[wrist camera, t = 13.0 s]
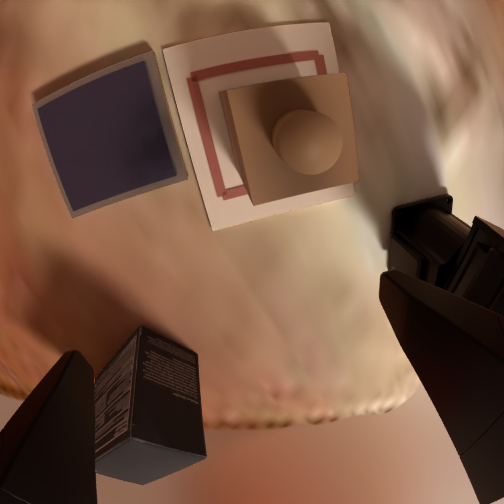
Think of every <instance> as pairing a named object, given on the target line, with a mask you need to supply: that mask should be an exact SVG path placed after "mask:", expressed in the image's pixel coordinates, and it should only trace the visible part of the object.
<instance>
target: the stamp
mask: <svg viewBox="0 0 504 504" xmlns="http://www.w3.org/2000/svg"><path fill="white" fill-rule="evenodd" d="M218 93H219V97H220V101H221V105H222V109H223V113H224V118H225V122H226V126H227V130H228V134H229V139H230V143H231V147H232V151H233V155H234V160H235V164H236V168H237V171H238V174H239V176H240V178H241V180H242V182H243V185H244V187H245V189H246V191H247V193H248V196H249V198H250V200H251V202H252V204H253V206H256V205H260V204H264V203H268V202H272V201H276V200H280V199H284V198H288V197H292V196H297V195H301V194H305V193H309V192H314V191H318V190H322V189H327V188H331V187H336V186H340V185H345V184H349V183H354V182H359V174H358V162H357V151H356V141H355V132H354V123H353V115H352V108H351V101H350V94H349V88H348V81H347V76H346V73H337V74H323V75H312V76H303V77H295V78H288V79H281V80H275V81H269V82H263V83H257V84H252V85H247V86H242V87H237V88H233V89H228V90H224V91H219V92H218Z"/></svg>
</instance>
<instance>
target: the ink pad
mask: <svg viewBox="0 0 504 504" xmlns="http://www.w3.org/2000/svg"><path fill="white" fill-rule="evenodd" d="M32 106H33V110H34V113H35V117H36V120H37V124H38V127H39V130H40V134H41V137H42V140H43V143H44V146H45V149H46V152H47V155H48V158H49V161H50V164H51V167H52V169H53V172H54V175H55V177H56V180H57V183H58V185H59V188H60V190H61V193H62V195H63V198H64V200H65V203H66V205H67V207H68V210H69V212H70V214H71V217H72V218H75V217H77V216H80V215H82V214H85V213H88V212H90V211H93V210H96V209H99V208H101V207H104V206H107V205H110V204H113V203H116V202H118V201H121V200H124V199H127V198H130V197H133V196H136V195H139V194H142V193H145V192H148V191H152V190H155V189H158V188H161V187H164V186H168V185H171V184H174V183H178V182H181V181H184V180H188V173H187V170H186V166H185V163H184V159H183V156H182V152H181V149H180V146H179V142H178V138H177V135H176V131H175V128H174V124H173V121H172V117H171V113H170V110H169V106H168V102H167V98H166V95H165V91H164V87H163V83H162V79H161V76H160V72H159V68H158V64H157V60H156V56H155V52H153V51H149V52H146V53H143V54H140V55H137V56H134V57H132V58H129V59H126V60H124V61H121V62H118V63H116V64H113V65H111V66H108V67H106V68H104V69H101V70H99V71H97V72H94V73H92V74H90V75H88V76H85V77H83V78H81V79H79V80H77V81H75V82H73V83H71V84H69V85H67V86H65V87H63V88H61V89H59V90H57V91H55V92H53V93H52V94H50V95H48V96H46V97H44V98H43V99H41V100H39V101H37V102H36V103H34V104H32Z"/></svg>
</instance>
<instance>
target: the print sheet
mask: <svg viewBox="0 0 504 504" xmlns="http://www.w3.org/2000/svg"><path fill="white" fill-rule="evenodd" d="M162 50H163V54H164V58H165V62H166V66H167V70H168V73H169V77H170V81H171V85H172V89H173V93H174V97H175V100H176V104H177V108H178V112H179V115H180V119H181V123H182V126H183V130H184V134H185V137H186V141H187V145H188V148H189V152H190V155H191V159H192V162H193V166H194V169H195V173H196V176H197V180H198V183H199V187H200V190H201V194H202V197H203V200H204V204H205V207H206V210H207V214H208V217H209V220H210V224H211V227H212V230H213V231H216V230H219V229H223V228H227V227H231V226H234V225H238V224H242V223H246V222H250V221H253V220H257V219H261V218H265V217H269V216H273V215H277V214H281V213H285V212H289V211H293V210H297V209H301V208H305V207H309V206H313V205H317V204H321V203H325V202H329V201H334V200H338V199H342V198H346V197H351V196H354V183H349V184H345V185H340V186H336V187H331V188H327V189H322V190H318V191H314V192H309V193H305V194H301V195H297V196H292V197H288V198H284V199H280V200H276V201H272V202H268V203H264V204H260V205H256V206H253V204H252V202H251V200H250V198H249V196H248V193H247V191H246V189H245V187H244V185H243V182H242V180H241V178H240V176H239V174H238V171H237V168H236V164H235V160H234V155H233V151H232V147H231V143H230V139H229V134H228V130H227V126H226V122H225V118H224V113H223V109H222V105H221V101H220V97H219V93H218V92H219V91H224V90H228V89H233V88H237V87H242V86H247V85H252V84H257V83H263V82H269V81H275V80H281V79H288V78H295V77H303V76H312V75H323V74H337V73H340V72H339V67H338V62H337V56H336V51H335V46H334V42H333V37H332V33H331V28H330V24H329V22H323V23H303V24H290V25H280V26H271V27H263V28H256V29H249V30H243V31H237V32H231V33H226V34H221V35H216V36H212V37H207V38H203V39H199V40H194V41H190V42H187V43H183V44H179V45H176V46H172V47H169V48H165V49H162Z"/></svg>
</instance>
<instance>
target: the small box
mask: <svg viewBox="0 0 504 504" xmlns="http://www.w3.org/2000/svg"><path fill="white" fill-rule="evenodd" d="M94 394H95V469H96V473H98V474H102V475H105V476H108V477H112V478H116V479H119V480H123V481H127V482H132V483H136V484H140V485H144V484H147V483H150V482H152V481H155V480H157V479H160V478H163V477H165V476H167V475H170V474H172V473H174V472H177V471H179V470H182V469H184V468H186V467H188V466H190V465H193V464H195V463H197V462H199V461H201V460H204V459H206V458H207V454H206V446H205V437H204V428H203V418H202V406H201V395H200V382H199V366H198V355H197V354H196V353H194V352H192V351H190V350H188V349H186V348H184V347H182V346H180V345H178V344H176V343H174V342H172V341H170V340H168V339H166V338H164V337H162V336H160V335H158V334H156V333H154V332H153V331H151V330H149V329H147V328H145V327H143V326H140V327H139V328H138V329H137V330H136V332H135V333H134V334H133V335H132V336H131V337H130V338H129V339H128V341H127V342H126V343H125V344H124V345H123V347H121V349H120V350H119V351H118V352H117V354H116V355H115V356H114V357H113V358H112V360H111V361H110V362H109V363H108V365H107V366H106V367H105V368H104V369H103V371H102V372H101V373H100V374H99V376H98V377H97V378H96V379H95V383H94Z"/></svg>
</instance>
